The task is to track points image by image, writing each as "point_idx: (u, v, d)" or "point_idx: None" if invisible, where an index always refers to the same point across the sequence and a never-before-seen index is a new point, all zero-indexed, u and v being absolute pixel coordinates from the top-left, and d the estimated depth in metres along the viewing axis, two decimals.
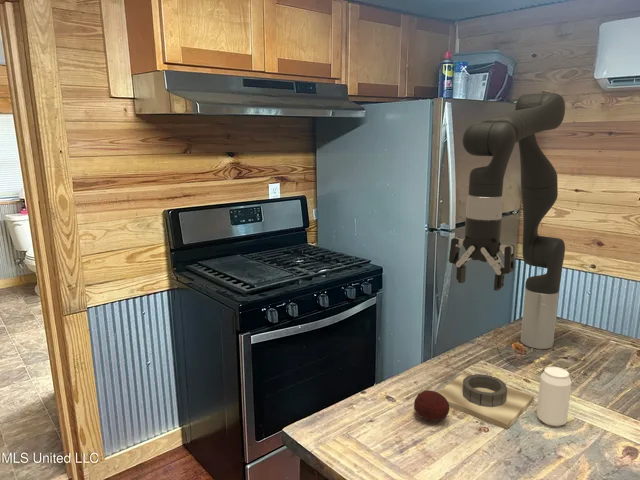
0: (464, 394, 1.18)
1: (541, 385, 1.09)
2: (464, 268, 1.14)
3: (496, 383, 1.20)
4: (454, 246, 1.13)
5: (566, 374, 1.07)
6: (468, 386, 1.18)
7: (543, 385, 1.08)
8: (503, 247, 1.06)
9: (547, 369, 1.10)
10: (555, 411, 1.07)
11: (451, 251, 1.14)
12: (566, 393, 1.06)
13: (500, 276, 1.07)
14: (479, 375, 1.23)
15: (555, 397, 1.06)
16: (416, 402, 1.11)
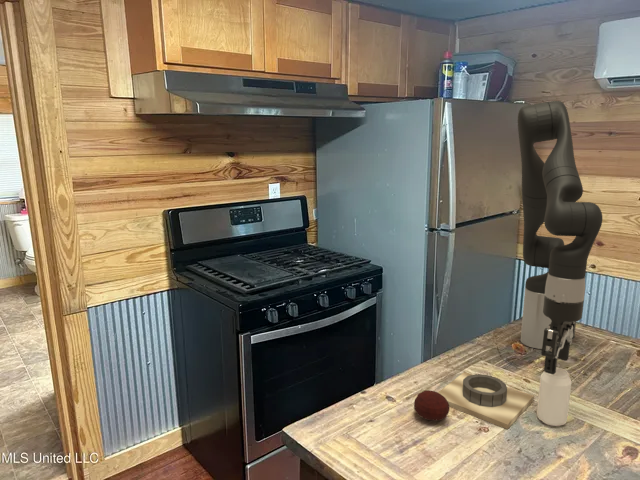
0: (464, 394, 1.18)
1: (541, 385, 1.09)
2: None
3: (496, 383, 1.20)
4: (557, 339, 1.01)
5: (566, 374, 1.07)
6: (468, 386, 1.18)
7: (543, 385, 1.08)
8: None
9: None
10: (555, 411, 1.07)
11: (555, 346, 1.01)
12: (566, 393, 1.06)
13: None
14: (479, 375, 1.23)
15: (555, 397, 1.06)
16: (416, 402, 1.11)
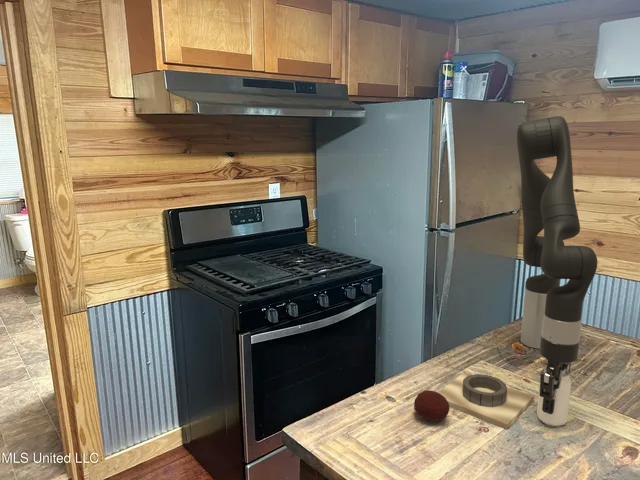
0: (464, 394, 1.18)
1: None
2: None
3: (496, 383, 1.20)
4: (553, 382, 1.03)
5: (566, 374, 1.07)
6: (468, 386, 1.18)
7: None
8: None
9: None
10: (555, 411, 1.07)
11: (552, 389, 1.03)
12: (566, 393, 1.06)
13: None
14: (479, 375, 1.23)
15: None
16: (416, 402, 1.11)
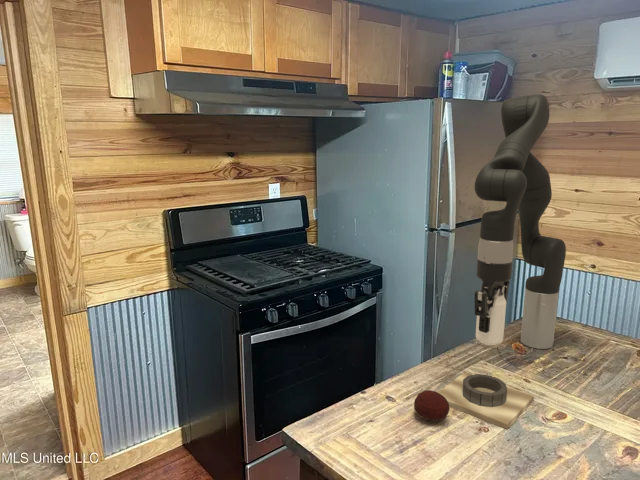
0: (464, 394, 1.18)
1: None
2: None
3: (496, 383, 1.20)
4: (486, 300, 1.08)
5: (501, 295, 1.13)
6: (468, 386, 1.18)
7: None
8: (503, 281, 1.16)
9: None
10: (490, 330, 1.12)
11: (485, 306, 1.08)
12: (501, 312, 1.12)
13: None
14: (479, 375, 1.23)
15: (490, 316, 1.12)
16: (416, 402, 1.11)
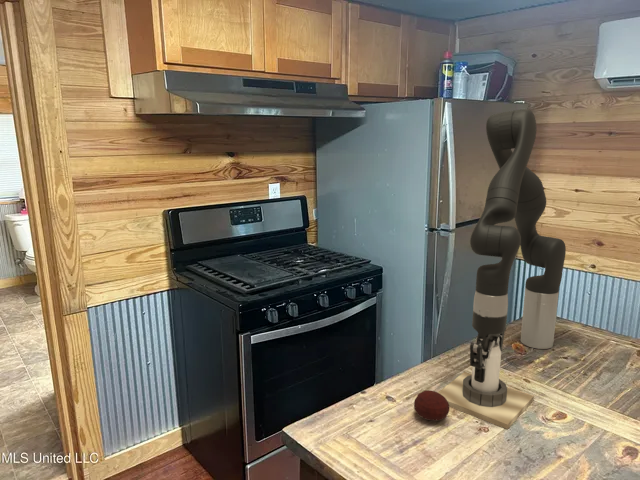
0: (464, 394, 1.18)
1: None
2: None
3: None
4: (481, 352, 1.11)
5: (496, 345, 1.16)
6: (468, 386, 1.18)
7: None
8: None
9: None
10: (486, 379, 1.15)
11: (480, 358, 1.11)
12: (496, 363, 1.14)
13: None
14: None
15: None
16: (416, 402, 1.11)
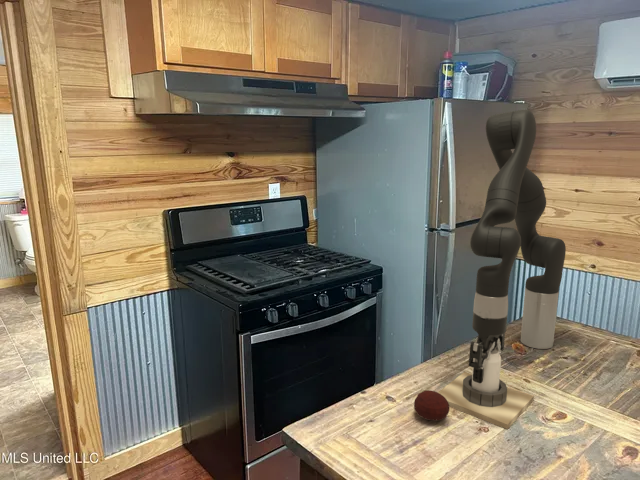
0: (464, 394, 1.18)
1: None
2: None
3: None
4: (481, 351, 1.11)
5: (496, 352, 1.16)
6: (468, 386, 1.18)
7: None
8: None
9: None
10: (485, 386, 1.15)
11: (480, 358, 1.11)
12: (496, 369, 1.14)
13: None
14: None
15: (485, 373, 1.15)
16: (416, 402, 1.11)
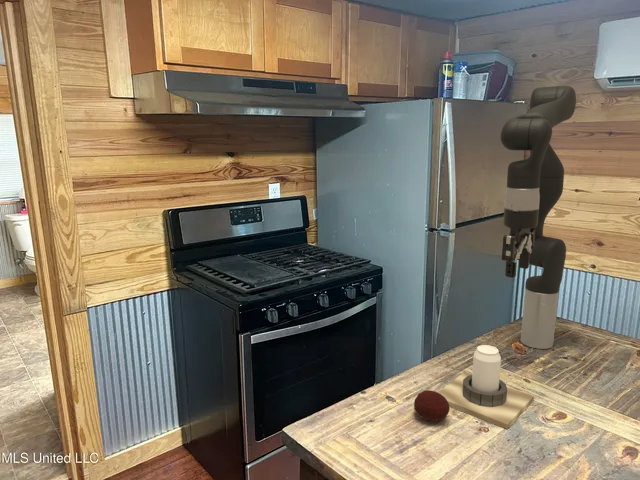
0: (464, 394, 1.18)
1: (474, 362, 1.17)
2: None
3: None
4: (514, 244, 1.12)
5: (496, 351, 1.16)
6: (468, 386, 1.18)
7: (475, 362, 1.16)
8: (529, 228, 1.20)
9: (480, 347, 1.18)
10: (485, 385, 1.15)
11: (513, 250, 1.12)
12: (495, 369, 1.15)
13: None
14: None
15: (485, 372, 1.15)
16: (416, 402, 1.11)
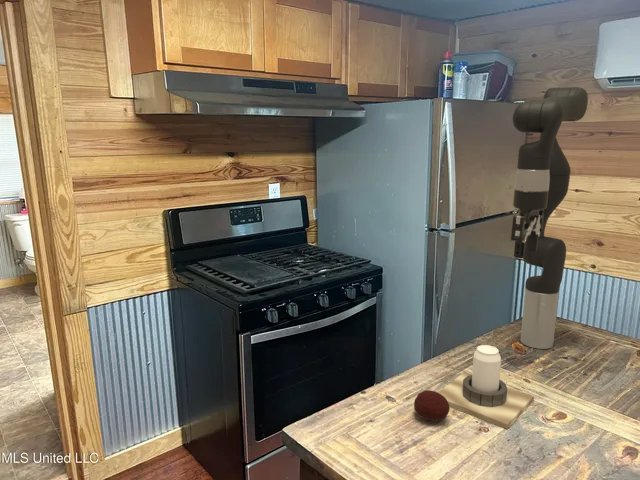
0: (464, 394, 1.18)
1: (474, 362, 1.17)
2: None
3: None
4: (524, 224, 1.14)
5: (496, 351, 1.16)
6: (468, 386, 1.18)
7: (475, 362, 1.16)
8: None
9: (480, 347, 1.18)
10: (485, 385, 1.15)
11: (523, 230, 1.13)
12: (496, 369, 1.15)
13: None
14: None
15: (485, 372, 1.15)
16: (416, 402, 1.11)
